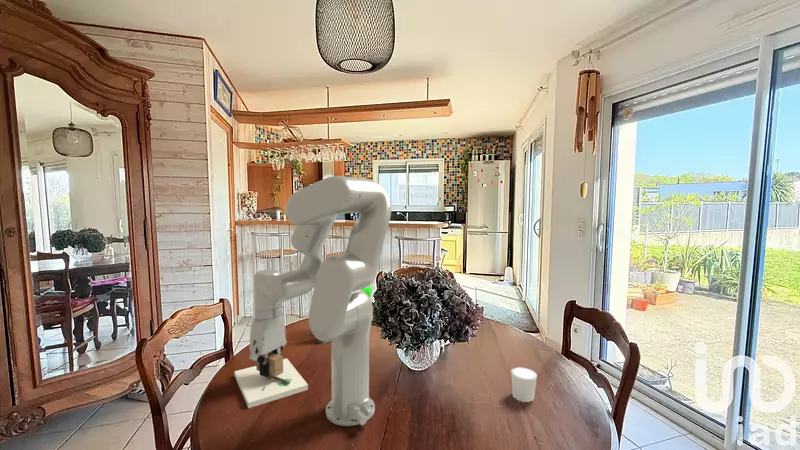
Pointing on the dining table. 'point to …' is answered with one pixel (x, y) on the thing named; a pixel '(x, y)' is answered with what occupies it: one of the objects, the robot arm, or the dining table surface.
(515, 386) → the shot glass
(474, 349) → the dining table surface
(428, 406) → the dining table surface
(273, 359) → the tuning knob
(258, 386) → the board
